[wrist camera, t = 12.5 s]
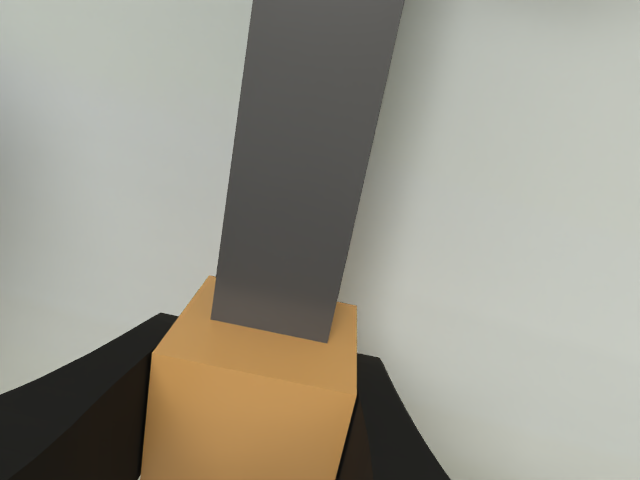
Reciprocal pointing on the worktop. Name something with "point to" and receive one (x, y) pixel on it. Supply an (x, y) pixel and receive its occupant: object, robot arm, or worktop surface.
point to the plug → (279, 259)
